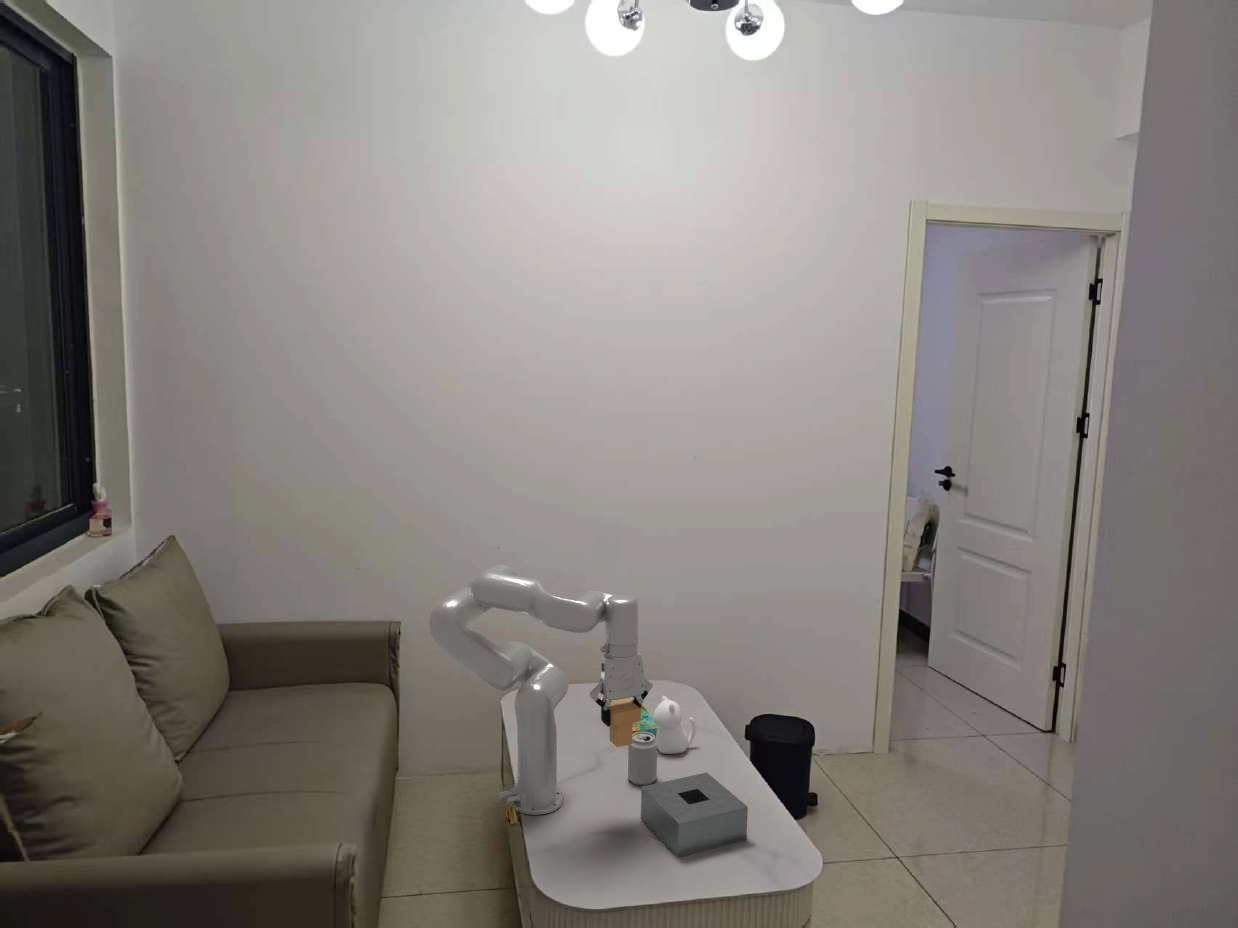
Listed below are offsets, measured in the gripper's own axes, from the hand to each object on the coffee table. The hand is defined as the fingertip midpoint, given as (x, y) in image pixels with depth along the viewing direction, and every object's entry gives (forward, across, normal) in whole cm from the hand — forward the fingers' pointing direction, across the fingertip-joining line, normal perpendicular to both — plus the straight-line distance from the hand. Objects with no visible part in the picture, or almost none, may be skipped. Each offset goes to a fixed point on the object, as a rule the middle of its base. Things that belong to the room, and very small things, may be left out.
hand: (621, 720), depth 210 cm
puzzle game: (+24, +24, +44) cm, 56 cm away
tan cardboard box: (+5, 0, 0) cm, 5 cm away
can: (+24, +13, +14) cm, 31 cm away
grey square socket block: (+24, +13, -12) cm, 30 cm away
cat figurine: (+24, +29, +26) cm, 46 cm away
